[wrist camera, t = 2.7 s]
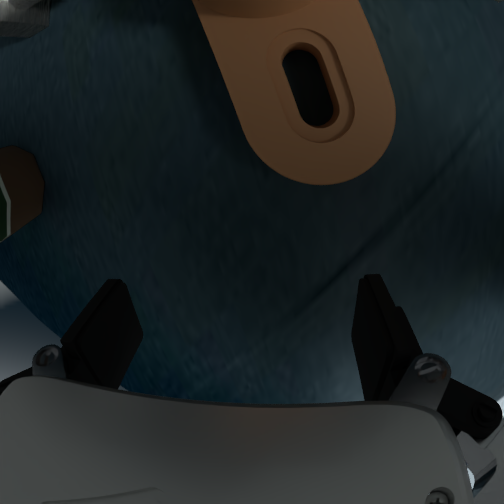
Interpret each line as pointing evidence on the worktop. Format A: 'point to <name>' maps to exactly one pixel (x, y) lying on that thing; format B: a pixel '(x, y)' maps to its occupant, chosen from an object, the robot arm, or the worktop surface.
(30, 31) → the grey metal fittings
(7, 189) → the beer bottle
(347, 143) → the bracket
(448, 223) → the worktop surface
